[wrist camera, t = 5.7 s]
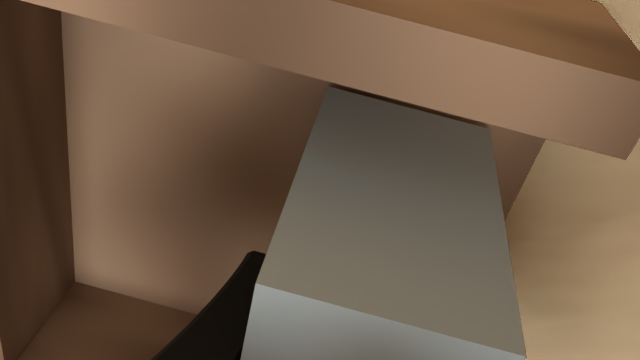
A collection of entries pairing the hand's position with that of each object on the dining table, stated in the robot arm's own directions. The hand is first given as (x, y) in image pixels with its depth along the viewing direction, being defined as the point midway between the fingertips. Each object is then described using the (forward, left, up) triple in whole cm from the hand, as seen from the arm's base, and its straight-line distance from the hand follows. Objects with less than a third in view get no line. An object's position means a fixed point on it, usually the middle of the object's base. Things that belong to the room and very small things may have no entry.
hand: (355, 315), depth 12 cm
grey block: (0, 0, -3) cm, 3 cm away
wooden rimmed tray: (+3, 0, -4) cm, 5 cm away
